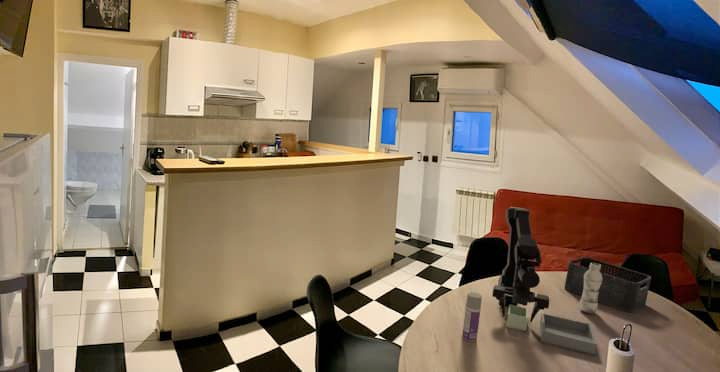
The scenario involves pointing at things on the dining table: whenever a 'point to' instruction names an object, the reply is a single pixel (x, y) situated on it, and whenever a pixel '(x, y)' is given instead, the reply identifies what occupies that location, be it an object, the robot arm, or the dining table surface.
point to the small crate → (517, 317)
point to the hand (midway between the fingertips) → (517, 318)
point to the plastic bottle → (591, 289)
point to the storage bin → (611, 284)
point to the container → (472, 317)
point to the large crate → (567, 334)
